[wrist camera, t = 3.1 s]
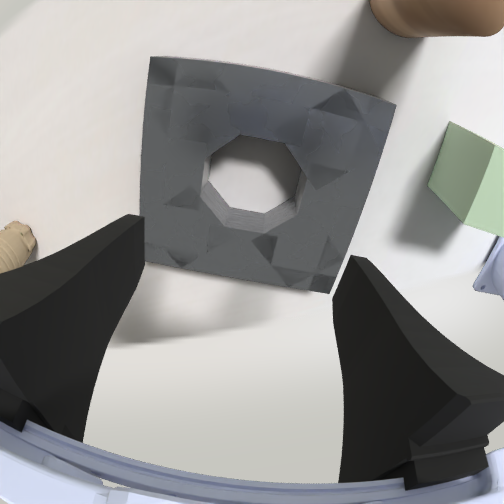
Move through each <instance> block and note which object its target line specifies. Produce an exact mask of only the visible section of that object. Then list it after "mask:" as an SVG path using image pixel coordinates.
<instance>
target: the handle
mask: <svg viewBox="0 0 504 504" xmlns="http://www.w3.org/2000/svg"><path fill="white" fill-rule="evenodd" d="M4 228H5V230H1V231H0V273H4V272H7V271H10V270H13V269H16V268H19V267H22V266H23V265H24V264H25V262H26V260H27V259H28V258H29V256H30V255H31V253H32V249H33V247H34V246H35V244H36V240H35V238H34V237H33V235H32V233H31V230H30V227H29V226H28V225H23V224H20V223H19V222H18V221H13V222H11V223H9V224H8V225H7V226H5V227H4Z"/></svg>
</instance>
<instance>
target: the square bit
mask: <svg viewBox="0 0 504 504" xmlns="http://www.w3.org/2000/svg"><path fill="white" fill-rule="evenodd" d="M427 186H428V187H429V188H430V189H431V190H432V191H433V192H434V193H435V194H436V195H437V196H438V197H439V198H440V199H441V200H442V201H443V203H444V204H445V205H446V206H447V207H448V208H449V209H450V210H451V211H452V212H453V213H454V214H455V215H456V216H457V218H458V219H459V220H460V221H461V222H462V223H463V224H465V225H468V226H471V227H474V228H477V229H480V230H483V231H486V232H489V233H492V234H495V235H498V236H500V237H503V238H504V149H503V148H502V147H500V146H498V145H496V144H494V143H493V142H491V141H489V140H487V139H485V138H483V137H481V136H479V135H477V134H475V133H473V132H471V131H469V130H467V129H465V128H463V127H461V126H459V125H457V124H455V123H452V122H449V125H448V128H447V131H446V134H445V137H444V141H443V143H442V146H441V149H440V152H439V155H438V158H437V161H436V164H435V166H434V169H433V172H432V174H431V177H430V180H429V182H428V185H427Z"/></svg>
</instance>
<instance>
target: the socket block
mask: <svg viewBox="0 0 504 504" xmlns="http://www.w3.org/2000/svg"><path fill="white" fill-rule="evenodd" d="M395 109H396V104H393V103H391V102H389V101H386V100H384V99H382V98H379V97H376V96H373V95H370V94H366V93H363V92H360V91H357V90H354V89H350V88H347V87H343V86H340V85H337V84H333V83H329V82H325V81H321V80H317V79H313V78H309V77H305V76H301V75H296V74H292V73H287V72H282V71H277V70H272V69H267V68H261V67H256V66H250V65H243V64H237V63H230V62H222V61H214V60H205V59H196V58H184V57H170V56H154V57H150V64H149V72H148V81H147V90H146V99H145V110H144V122H143V136H142V152H141V175H140V216H143V217H145V261H147V262H152V263H158V264H163V265H168V266H173V267H178V268H184V269H189V270H194V271H200V272H205V273H210V274H216V275H221V276H227V277H232V278H238V279H244V280H249V281H255V282H261V283H267V284H272V285H278V286H284V287H290V288H296V289H302V290H308V291H314V292H321V293H327V294H329V293H330V291H331V289H332V286H333V284H334V282H335V279H336V277H337V274H338V272H339V270H340V267H341V265H342V262H343V260H344V257H345V255H346V252H347V250H348V247H349V245H350V242H351V239H352V237H353V234H354V232H355V229H356V226H357V224H358V221H359V218H360V216H361V213H362V210H363V207H364V205H365V202H366V199H367V196H368V193H369V191H370V188H371V185H372V182H373V179H374V176H375V173H376V170H377V167H378V164H379V161H380V158H381V155H382V152H383V149H384V145H385V142H386V139H387V136H388V133H389V129H390V126H391V123H392V119H393V116H394V112H395ZM239 135H245V136H250V137H256V138H261V139H266V140H271V141H276V142H281V143H285V145H286V146H287V148H288V149H289V151H290V152H291V154H292V155H293V157H294V158H295V160H296V161H297V163H298V164H299V166H300V167H301V169H302V170H301V174H300V178H299V181H298V185H297V189H296V193H295V196H294V197H293V198H291V199H289V200H288V201H286V202H284V203H282V204H281V205H279V206H277V207H275V208H274V209H272V210H270V211H268V212H267V213H265V214H263V213H258V212H252V211H247V210H242V209H236V208H231V207H229V206H228V205H227V203H226V202H225V201H224V199H223V198H222V197H221V196H220V194H219V193H218V192H217V191H216V189H215V188H214V187H213V186H212V184H211V183H210V182H209V181H208V179H209V171H210V164H211V157H212V153H214V152H215V151H217V150H218V149H220V148H221V147H223V146H224V145H225V144H227V143H228V142H230V141H231V140H233V139H234V138H236V137H237V136H239Z"/></svg>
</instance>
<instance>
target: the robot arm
mask: <svg viewBox="0 0 504 504" xmlns="http://www.w3.org/2000/svg"><path fill="white" fill-rule="evenodd" d="M144 266H145V217H143V216H137V215H131V214H128V215H125V216H123V217H121V218H119V219H117V220H116V221H114V222H112V223H110V224H108V225H107V226H105V227H103V228H101V229H100V230H98V231H96V232H94V233H92V234H91V235H89V236H87V237H85V238H83V239H81V240H80V241H78V242H76V243H74V244H72V245H70V246H68V247H66V248H65V249H62V250H60V251H58V252H56V253H54V254H52V255H50V256H47V257H45V258H43V259H40V260H38V261H35V262H33V263H30V264H27V265H24V266H22V267H19V268H16V269H13V270H10V271H7V272H4V273H0V498H1V499H3V500H4V501H6V502H8V503H9V504H504V448H501V449H497V450H494V451H492V452H490V453H488V454H486V453H485V450H484V447H486V446H487V445H488V444H489V440H488V436H487V434H489V433H490V432H491V431H493V430H494V429H495V428H496V427H497V426H499V425H500V424H501V423H502V422H504V375H502V374H500V373H498V372H497V371H495V370H493V369H491V368H489V367H487V366H486V365H484V364H483V363H481V362H479V361H478V360H476V359H475V358H473V357H472V356H470V355H469V354H467V353H466V352H464V351H463V350H462V349H460V348H459V347H458V346H456V345H455V344H454V343H452V342H451V341H450V340H449V339H447V338H446V337H445V336H444V335H442V334H441V333H440V332H439V331H438V330H437V329H436V328H434V327H433V326H432V325H431V324H430V323H429V322H428V321H427V320H426V319H424V318H423V317H422V316H421V315H420V314H419V313H418V312H417V311H416V310H415V309H414V308H413V306H412V305H410V303H409V302H408V301H407V300H406V299H405V298H404V297H403V296H402V295H401V294H400V293H399V292H398V291H397V289H396V288H395V287H394V286H393V285H392V284H391V283H390V282H389V281H388V280H387V278H386V277H385V276H384V275H383V274H382V273H381V272H380V271H379V270H378V269H377V268H376V267H375V266H374V265H373V263H371V262H370V261H369V260H368V259H367V258H364V257H359V256H354V255H351V256H350V258H349V261H348V263H347V266H346V268H345V270H344V273H343V275H342V277H341V280H340V282H339V284H338V287H337V289H336V291H335V294H334V296H333V298H332V303H333V324H334V329H335V336H336V341H337V347H338V353H339V358H340V365H341V370H342V379H343V394H344V428H343V429H344V430H343V446H342V458H341V467H340V474H339V481H338V483H333V484H332V483H331V484H330V483H329V484H298V483H273V482H259V481H248V480H239V479H230V478H223V477H216V476H209V475H203V474H197V473H191V472H186V471H181V470H175V469H171V468H167V467H162V466H157V465H154V464H149V463H146V462H142V461H138V460H134V459H131V458H127V457H124V456H120V455H117V454H114V453H111V452H107V451H104V450H101V449H98V448H95V447H93V446H89V445H87V444H84V443H83V437H84V431H85V426H86V420H87V415H88V410H89V406H90V402H91V398H92V394H93V390H94V386H95V383H96V380H97V376H98V372H99V369H100V366H101V363H102V360H103V357H104V354H105V351H106V349H107V346H108V343H109V341H110V339H111V336H112V334H113V332H114V330H115V328H116V326H117V324H118V322H119V320H120V318H121V317H122V315H123V313H124V311H125V309H126V307H127V305H128V303H129V301H130V299H131V297H132V295H133V293H134V291H135V290H136V287H137V285H138V282H139V280H140V277H141V274H142V271H143V269H144ZM473 288H474V290H475V291H479V292H485V293H490V294H496V295H500V296H501V297H502V298H503V300H504V238H503V237H499V239H498V241H497V243H496V245H495V247H494V249H493V251H492V252H491V254H490V256H489V258H488V260H487V261H486V263H485V265H484V267H483V268H482V270H481V272H480V274H479V275H478V277H477V279H476V280H475V282H474V284H473ZM95 476H96V477H95ZM97 477H99V478H102V479H105V480H108V481H111V482H114V483H117V484H121V485H124V486H127V487H131V488H125V487H116V488H112V487H108V486H104V485H103V482H102V481H101V479H99V478H97Z"/></svg>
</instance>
